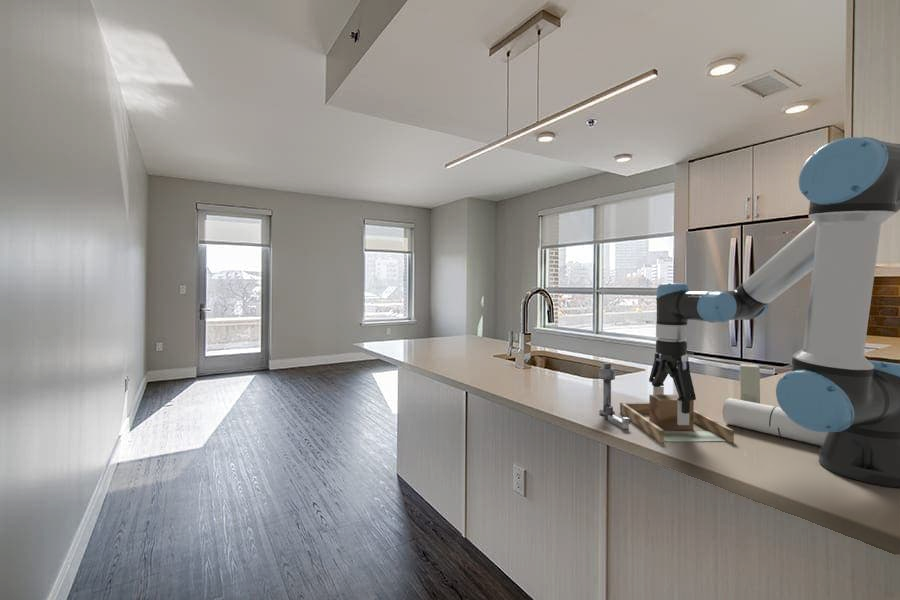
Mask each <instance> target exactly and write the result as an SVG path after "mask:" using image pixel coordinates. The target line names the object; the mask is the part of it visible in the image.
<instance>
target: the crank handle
mask: <svg viewBox="0 0 900 600" xmlns="http://www.w3.org/2000/svg"><path fill="white" fill-rule="evenodd" d="M613 411H614V407H613V406H612V405H611V406H606V416H605V420H606V421H608V422H610V423H612V424H613V425H615V426H617V427H619V428H620V429H622V430H629V428H630V424H631V420H630V418H628V417H625V416H623V417H622V418H620V417H618V416H616V414H615V415H613Z"/></svg>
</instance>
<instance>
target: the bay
mask: <svg viewBox="0 0 900 600" xmlns="http://www.w3.org/2000/svg"><path fill="white" fill-rule="evenodd" d="M619 405H620V406H619V412H620V414H621V415H623V417H628V418H630V422H632V423H633V424H635V425H636V426H637V427H639V428H640V429H641V430H642V431H644V432H645V433H646V434H648V435H649V436H650V437H652V438H654V439H655V440H656V441H657V442H658V443H660V444H661V443H666V442H667V443H668V442H669V443H675V442H677V443H679V442H680V443H683V442H684V443H685V442H686V443H687V442H688V443H691V442H692V443H694V442H695V443H698V442H703V443H704V442H706V443H707V442H710V443H714V442H716V443H717V442H718V443H719V442H721V443H722V442H724V443H725V442H727V443H735V441H734V439H735V430H734V429H732V428H730V427H728V426H727V425H725V424H723V423H721V422H718V421H717V420H715V419H713V418H711V417H709V416H707V415H705V414H703V413H701V412H699V411H698V410H695V409H694V422H693V423H694V424H696V425H698V426H700V427H702V428H704V429H706V430H687V431H685V430H681V431H680V430H675V431H674V430H672V431H671V430H666V431H665V430H663V429H661V428H660V427H658V426H657V425H655V424H654V423H652V422H651V421H649V419H648V418H647V417H645V416H643V415H642V414H646V415H648V414H649V402H619Z"/></svg>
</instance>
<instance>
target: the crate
mask: <svg viewBox="0 0 900 600" xmlns="http://www.w3.org/2000/svg"><path fill="white" fill-rule="evenodd" d="M648 398H649V400H648V401H649V402H648V403H649V415H648V416H649V417H648V418H649V419H648V420H649V421H651V422H652V423H654V424H655V425H657V426H658V427H660V428H661V429H663V430H664V431H665V430H666V431H671V430H672V431H674V430H675V431H680V430H681V431H685V430H687V431H694V423H695V422H694V410H695V408H694V407H695V406H694V405H695V403H694V402H695V400H691V401H690V414H689V425H678V424H677V411H678V400H677V399H678V398H679V395H678V393H677V394H676V393H675V394H664V395H653V394H649V397H648Z"/></svg>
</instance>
